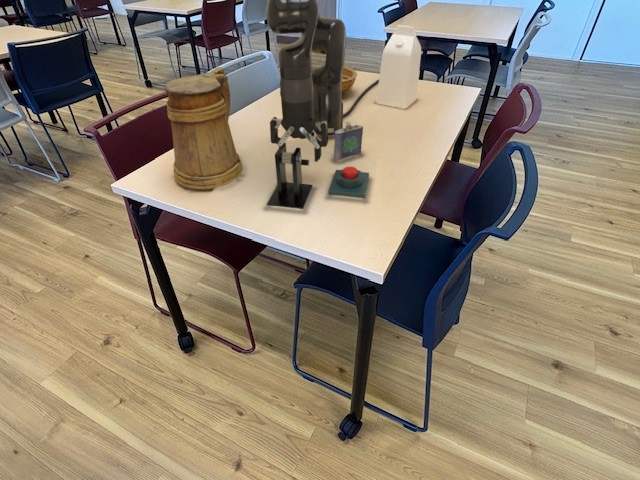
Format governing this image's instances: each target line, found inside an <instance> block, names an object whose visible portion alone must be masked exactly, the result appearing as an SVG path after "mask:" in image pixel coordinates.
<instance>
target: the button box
mask: <svg viewBox="0 0 640 480" xmlns="http://www.w3.org/2000/svg"><path fill="white" fill-rule="evenodd" d="M343 169H344V168H343ZM343 169H335V171H334V174H333V178H332V180H331V183H330V186H329V189H328V195H331V196H339V197H340V196H341V197H348V198H349V197H350V198H360V199H365V198H366V192H367V188H368V183H369V179H370V172H366V171H365V172H364V171H361V170H359V169H357V177H356V178H354V179H346V178H344V177H343Z"/></svg>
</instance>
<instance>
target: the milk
mask: <svg viewBox="0 0 640 480" xmlns="http://www.w3.org/2000/svg"><path fill="white" fill-rule="evenodd" d="M421 57H422V46H421V43H420V41H419V39H418V36H417V34H416V30H415V26H411V25H402V24H397V25H396V27H395V29H394V30H393V33H392V34H391V36H390V38H389V40H388V41H387V43H386V45H385V47H384V49H383V52H382V56H381V64H380V71H379V76H378V77H379V78H378V80H379V82H378V83H377V84H378V85H377V92H376V98H375V104H379V105H384V106H387V107H393V108H397V109H402V110H406V109H407V108H408V107H409V106H411V105H412V104H413V103H414V102H415V101H417V96H418V87H419V79H420V78H419V77H420V67H421V59H422V58H421Z"/></svg>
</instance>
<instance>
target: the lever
mask: <svg viewBox="0 0 640 480" xmlns="http://www.w3.org/2000/svg"><path fill="white" fill-rule="evenodd" d="M293 153H294V152H289V151H288V152H283V153H282V163H285V165H292V155H293ZM301 166H306V167H309V166H310V160H309V159H303V158H301Z"/></svg>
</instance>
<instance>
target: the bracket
mask: <svg viewBox="0 0 640 480" xmlns="http://www.w3.org/2000/svg"><path fill="white" fill-rule="evenodd" d="M301 151H302V149H301V147H296V148H295V149H294V151H293V152H292V153H293V155H292V164H291V167H292V182H289V181H287V168H286V164H285V163H282V153H283V152H284V147H282V146H280V147H279V146H278V149H277V150H276V152H275V153H274V163H275V173H276V175H275V176H276V186H275V189H274V191H272V192H273V193H272V194H271V196H270V197H269V200H268V201H267V203H266V206H271V207H281V208H288V209H298V210H304V208H305V206H306V203H307V201H308V198H309V196H310V194H311V191H312V189H313V186H314V185H313V184H311V183H303V174H302V165H301V159H302V152H301Z"/></svg>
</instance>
